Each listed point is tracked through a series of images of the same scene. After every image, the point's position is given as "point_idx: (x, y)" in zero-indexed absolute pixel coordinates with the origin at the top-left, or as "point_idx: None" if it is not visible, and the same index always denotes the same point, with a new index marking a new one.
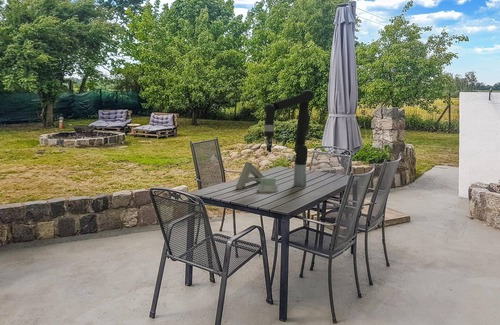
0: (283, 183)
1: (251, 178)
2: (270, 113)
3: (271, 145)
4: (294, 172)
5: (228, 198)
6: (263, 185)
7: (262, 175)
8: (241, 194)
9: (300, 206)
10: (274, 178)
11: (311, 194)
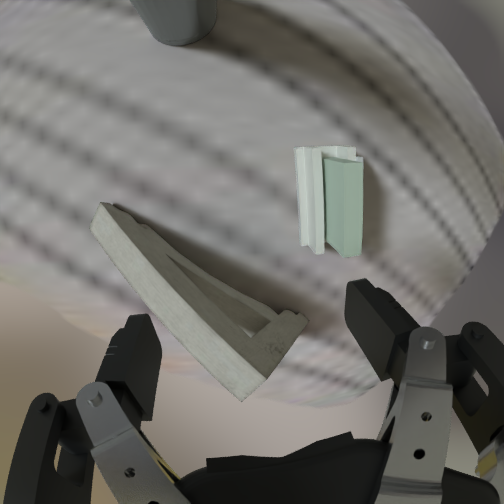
0: (135, 102)
1: (240, 301)
2: None
3: (490, 344)
4: (177, 11)
5: None
6: (362, 228)
7: (134, 241)
8: None
9: (493, 123)
10: (362, 171)
11: (377, 17)
